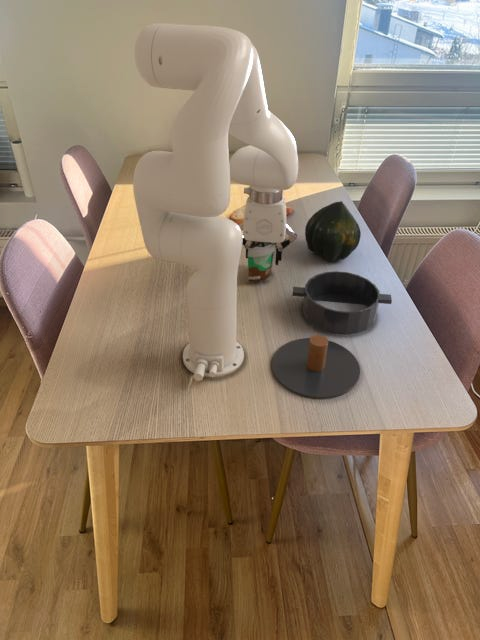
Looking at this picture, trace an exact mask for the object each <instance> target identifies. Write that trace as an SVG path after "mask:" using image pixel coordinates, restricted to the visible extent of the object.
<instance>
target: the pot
mask: <svg viewBox="0 0 480 640" xmlns="http://www.w3.org/2000/svg"><path fill="white" fill-rule="evenodd" d="M291 296H292V297H302V298H303V304H302V313H303V316H304V318H305V320H307V322H308V323H309V324H311V325H312V326H313V327H315V328H316V329H319V330H321V331H324V332H327V333H330V334H335V335H353V334H359V333H362V332H364V331H367V330H369V328H371V327H373V325H374V324H375V321H376V319H377V314H378V310H379V306H380V305H379V304H385V305H392V302H393V299H392V294H388V293H387V294H386V293H380V289H378V287H377V285H376V284H375V283H373V282H372V281H371V280H369V278H366V277H364V276H362V275H359V274H356V273H352V272H348V271H338V270H337V271H335V270H334V271H325V272H322V273H317V274H316V275H313V276H312V277H310V278H309V279H308V280H307V281H306V283H305V285H304V287H301V286H293V287H292V295H291ZM318 302H327V303H337V304H338V303H339V304H349V305H364V306H368V307H365V308H363V309H359V310H351V311H346V310H345V311H344V310H336V309H333V308H329V307H326V306H324V305H322V304H320V303H318Z"/></svg>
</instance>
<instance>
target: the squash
mask: <svg viewBox="0 0 480 640" xmlns="http://www.w3.org/2000/svg"><path fill="white" fill-rule="evenodd" d="M361 234H362V233H361V229H360V226H359V223H358V222H357V220H356V219H355V217H354V215H353V214H352V212H351V211H350V209H348V207H347V205H346V204H345V203H344V202H343V201H342V200H340V201H335V202H332V203H330V204H328V205H326V206H323V207H321V208H320V209H318V210H317V211H316V212H314V213H313V215H312V216H311V217H310V218H309V219H308V220H307V223H306V225H305V229H304V237H305V241H306V245H307V249H308V250H309V251H310V252H311V253H313V254H317V255H318V256H323V257H324V259H325V261H328V262H334V261H335V260H345V259H347V258H348V257H349V256H350V255H351V254H352V253H353V252H354V251H355V250H356V249H357V247H358V246H359V244H360V241H361Z"/></svg>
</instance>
